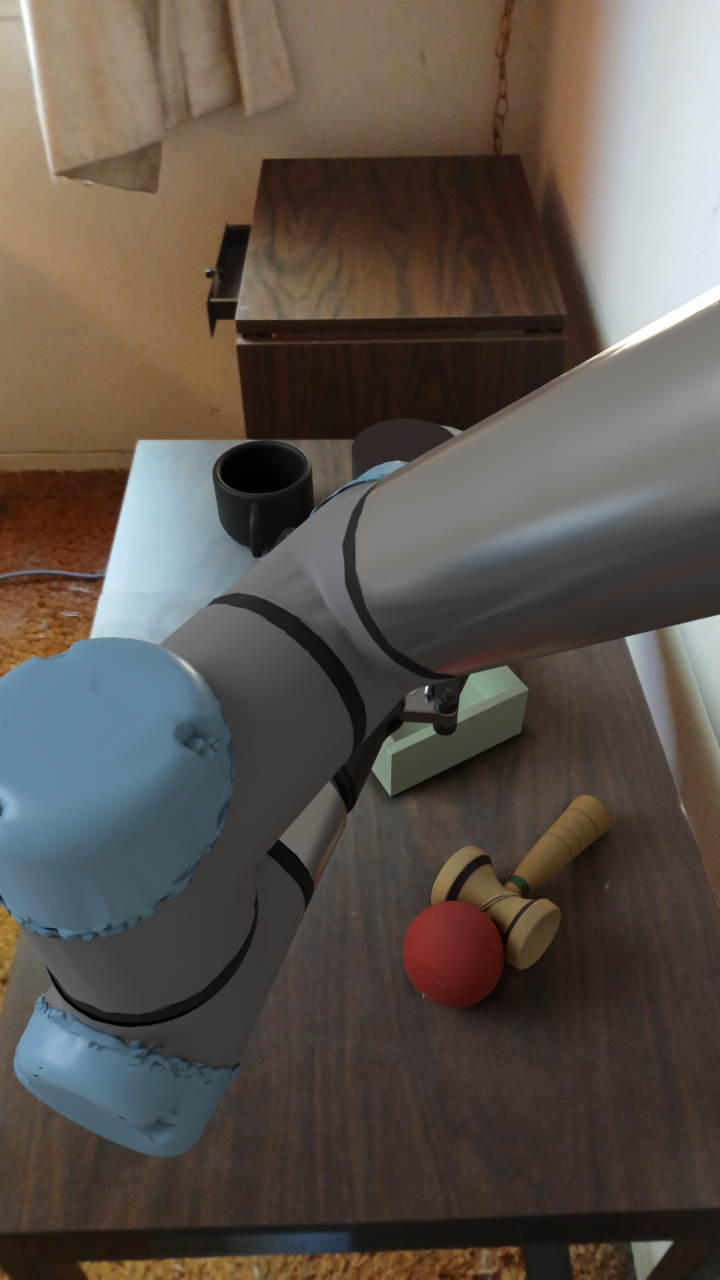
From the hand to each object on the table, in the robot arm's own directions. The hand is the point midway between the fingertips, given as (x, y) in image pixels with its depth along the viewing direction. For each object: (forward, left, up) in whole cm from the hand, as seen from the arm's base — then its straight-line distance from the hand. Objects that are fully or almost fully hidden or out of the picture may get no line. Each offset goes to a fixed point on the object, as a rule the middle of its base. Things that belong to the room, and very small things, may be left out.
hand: (430, 495), depth 56 cm
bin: (-1, +1, -20) cm, 20 cm away
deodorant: (-3, +4, -8) cm, 10 cm away
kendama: (-18, +4, -20) cm, 27 cm away
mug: (+24, +2, -20) cm, 31 cm away
